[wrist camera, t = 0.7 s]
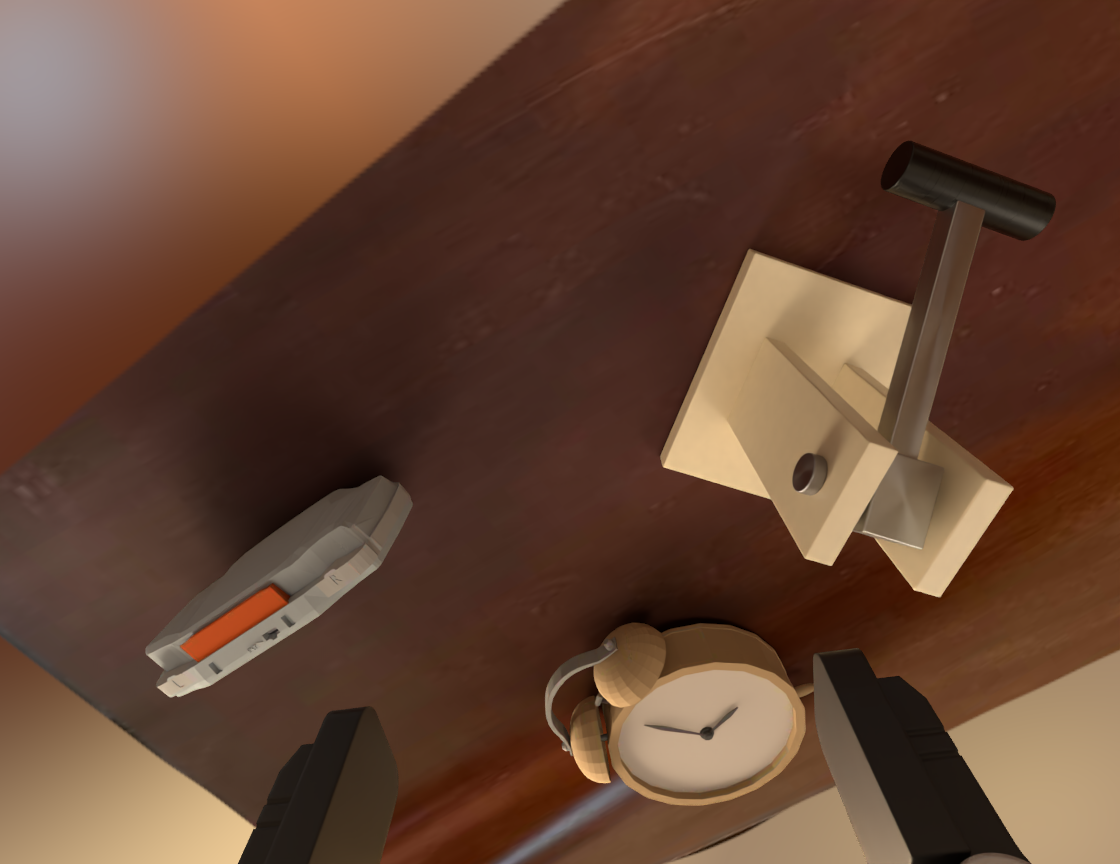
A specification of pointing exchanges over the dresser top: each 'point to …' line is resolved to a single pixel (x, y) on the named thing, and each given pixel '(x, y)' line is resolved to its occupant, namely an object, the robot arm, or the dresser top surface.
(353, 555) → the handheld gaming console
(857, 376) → the bracket
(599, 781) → the alarm clock
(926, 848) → the robot arm
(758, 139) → the dresser top surface
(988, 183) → the lever
